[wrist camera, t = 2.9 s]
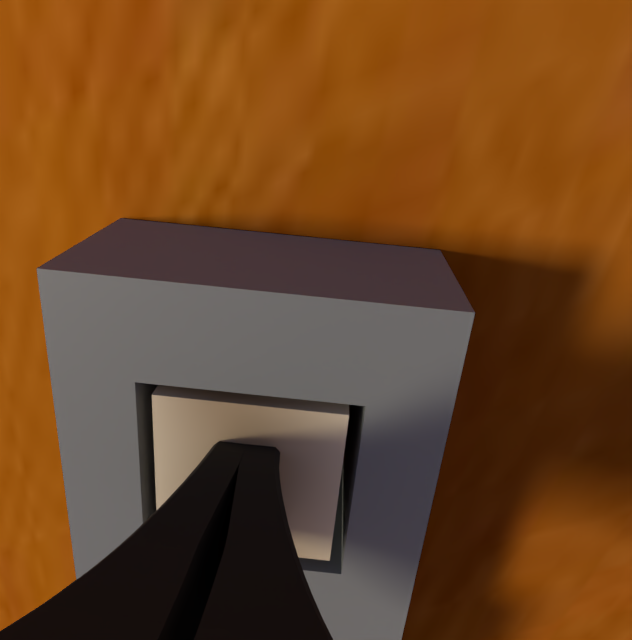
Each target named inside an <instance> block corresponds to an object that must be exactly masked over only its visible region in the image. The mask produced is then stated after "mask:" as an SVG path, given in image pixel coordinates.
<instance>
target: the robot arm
mask: <svg viewBox="0 0 632 640" xmlns="http://www.w3.org/2000/svg"><path fill="white" fill-rule="evenodd" d="M279 463H280V451H279V450H278V449H277V448H276V447H271V446H261V445H251V444H241V443H232V442H222V441H219V442H217V443H216V444H214V445H213V447H212V448H211V449H210V451H209V452H208V453H207V454H206V456H205V457H204V458H203V459H202V461H201V462H200V463H199V464H198V466H197V467H196V468H195V469H194V470H193V471H192V473H191V474H190V475H189V476H188V477H187V478H186V480H185V481H184V482H183V483H182V484H181V485H180V486H179V487H178V488H177V489H176V491H175V492H174V493H173V494H172V495H171V496H170V497H169V498H168V499H167V500H166V501H165V502H164V503H163V504H162V505H161V507H160V508H159V509H158V510H156V511H155V512H154V513H153V514H152V515H151V516H150V517H149V518H148V519H147V520H146V521H145V522H144V523H143V524H142V525H141V526H140V527H139V528H138V529H137V530H136V531H135V532H134V533H133V534H132V535H130V536H129V537H128V538H127V539H126V540H125V541H124V542H123V543H121V544H120V545H119V546H118V547H117V548H116V549H115V550H113V551H112V552H111V553H110V554H109V555H107V556H106V557H105V558H104V559H102V560H101V561H100V562H99V563H98V564H96V565H95V566H94V567H93V568H91V569H90V570H89V571H87V572H86V573H85V574H83V575H82V576H81V577H79V578H78V579H77V580H75V581H74V582H73V583H71V584H70V585H69V586H67V587H66V588H65V589H63V590H62V591H61V592H59V593H58V594H57V595H55V596H54V597H52V598H51V599H49V600H48V601H47V602H45V603H44V604H42V605H41V606H39V607H38V608H36V609H35V610H33V611H31V612H30V613H28V614H27V615H25V616H24V617H22V618H20V619H19V620H17V621H16V622H14V623H13V624H11V625H9V626H8V627H6V628H5V629H3V630H2V631H0V640H333V638H332V636H331V634H330V632H329V630H328V628H327V626H326V624H325V622H324V620H323V618H322V616H321V614H320V611H319V609H318V607H317V604H316V602H315V600H314V597H313V595H312V593H311V590H310V588H309V585H308V582H307V580H306V577H305V575H304V572H303V569H302V566H301V564H300V561H299V558H298V555H297V551H296V548H295V545H294V542H293V538H292V535H291V531H290V528H289V524H288V520H287V515H286V511H285V506H284V502H283V496H282V491H281V483H280V473H279Z"/></svg>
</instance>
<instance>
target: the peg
mask: <svg viewBox="0 0 632 640" xmlns="http://www.w3.org/2000/svg"><path fill="white" fill-rule="evenodd" d="M152 414H153V438H154V462H155V486H156V510H158V509H159V508H160V507H161V505H162V504H163V503H164V502H165V501H166V500H167V499H168V498H169V497H170V496H171V495H172V494H173V493H174V492H175V491H176V489H177V488H178V487H179V486H180V485H181V484H182V483H183V482H184V481H185V480H186V478H187V477H188V476H189V475H190V474H191V473H192V471H193V470H194V469H195V468H196V467H197V466H198V464H199V463H200V462H201V461H202V459H203V458H204V457H205V456H206V454H207V453H208V452H209V451H210V449H211V448H212V447H213V445H214V444H216V443H217V442H219V441H222V442H232V443H241V444H251V445H261V446H271V447H276V448H277V449H278V450H279V451H280V463H279V473H280V483H281V491H282V496H283V502H284V506H285V511H286V515H287V520H288V524H289V528H290V531H291V535H292V538H293V542H294V545H295V548H296V551H297V555H298V557H299V558H308V559H318V560H327V561H330V555H331V547H332V540H333V532H334V525H335V517H336V510H337V502H338V495H339V487H340V480H341V472H342V465H343V457H344V450H345V442H346V435H347V427H348V420H349V404H339V403H330V402H320V401H310V400H301V399H291V398H281V397H272V396H262V395H253V394H243V393H233V392H224V391H214V390H204V389H195V388H185V387H175V386H166V385H158V386H157V387H156V389H155V390H154V392H153V393H152Z"/></svg>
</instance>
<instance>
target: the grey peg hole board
mask: <svg viewBox="0 0 632 640" xmlns="http://www.w3.org/2000/svg"><path fill="white" fill-rule="evenodd" d="M37 275H38V283H39V291H40V299H41V306H42V314H43V322H44V330H45V338H46V345H47V353H48V361H49V369H50V377H51V384H52V392H53V400H54V408H55V416H56V423H57V431H58V439H59V447H60V454H61V462H62V470H63V478H64V486H65V493H66V501H67V509H68V517H69V525H70V532H71V540H72V548H73V556H74V564H75V571H76V579H78V578H79V577H81V576H82V575H83V574H85V573H86V572H87V571H89V570H90V569H91V568H93V567H94V566H95V565H96V564H98V563H99V562H100V561H101V560H102V559H104V558H105V557H106V556H107V555H109V554H110V553H111V552H112V551H113V550H115V549H116V548H117V547H118V546H119V545H120V544H121V543H123V542H124V541H125V540H126V539H127V538H128V537H129V536H130V535H132V534H133V533H134V532H135V531H136V530H137V529H138V528H139V527H140V526H141V525H142V524H143V523H144V522H145V521H146V520H147V519H148V518H149V517H150V516H151V515H152V514H153V513H154V512H155V511H156V486H155V462H154V438H153V414H152V393H153V392H154V390H155V389H156V387H157V386H158V385H166V386H175V387H185V388H195V389H204V390H214V391H224V392H233V393H243V394H253V395H262V396H272V397H281V398H291V399H301V400H310V401H320V402H330V403H339V404H349V405H350V411H349V420H348V427H347V435H346V442H345V450H344V457H343V465H342V472H341V480H340V487H339V495H338V502H337V510H336V517H335V525H334V532H333V540H332V547H331V555H330V561H327V560H318V559H308V558H299V557H298V558H299V561H300V564H301V566H302V569H303V572H304V575H305V577H306V580H307V582H308V585H309V588H310V590H311V593H312V595H313V597H314V600H315V602H316V604H317V607H318V609H319V611H320V614H321V616H322V618H323V620H324V622H325V624H326V626H327V628H328V630H329V632H330V634H331V636H332V638H333V640H402V635H403V631H404V626H405V622H406V617H407V613H408V608H409V604H410V600H411V595H412V591H413V586H414V582H415V577H416V573H417V569H418V564H419V560H420V555H421V551H422V546H423V542H424V537H425V533H426V529H427V524H428V520H429V515H430V511H431V506H432V502H433V498H434V493H435V489H436V484H437V480H438V475H439V471H440V466H441V462H442V458H443V453H444V449H445V444H446V440H447V435H448V431H449V427H450V422H451V418H452V413H453V409H454V404H455V400H456V395H457V391H458V387H459V382H460V378H461V373H462V369H463V364H464V360H465V356H466V351H467V347H468V342H469V338H470V333H471V329H472V325H473V320H474V316H475V312H474V310H473V308H472V306H471V304H470V303H469V301H468V299H467V297H466V295H465V294H464V292H463V290H462V288H461V286H460V285H459V283H458V281H457V279H456V278H455V276H454V274H453V272H452V270H451V269H450V267H449V265H448V263H447V261H446V260H445V258H444V256H443V254H442V252H441V251H440V250H435V249H425V248H415V247H405V246H395V245H385V244H375V243H365V242H355V241H345V240H335V239H325V238H314V237H304V236H294V235H284V234H274V233H264V232H254V231H244V230H234V229H224V228H214V227H204V226H194V225H184V224H174V223H164V222H154V221H144V220H134V219H124V218H120V219H119V220H117V221H115V222H114V223H112V224H110V225H109V226H107V227H105V228H103V229H102V230H100V231H98V232H97V233H95V234H93V235H92V236H90V237H88V238H87V239H85V240H83V241H82V242H80V243H78V244H77V245H75V246H73V247H72V248H70V249H68V250H67V251H65V252H63V253H62V254H60V255H58V256H57V257H55V258H53V259H52V260H50V261H48V262H47V263H45V264H43V265H42V266H40V267H38V268H37Z"/></svg>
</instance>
